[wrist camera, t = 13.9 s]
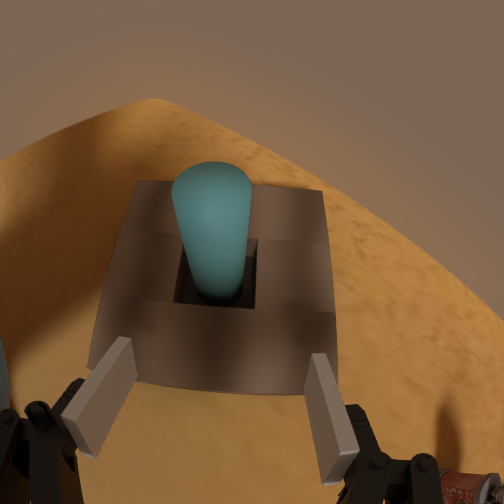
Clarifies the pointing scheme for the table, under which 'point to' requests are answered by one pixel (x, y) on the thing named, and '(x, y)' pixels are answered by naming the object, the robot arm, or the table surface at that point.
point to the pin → (214, 228)
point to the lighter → (471, 488)
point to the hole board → (222, 318)
